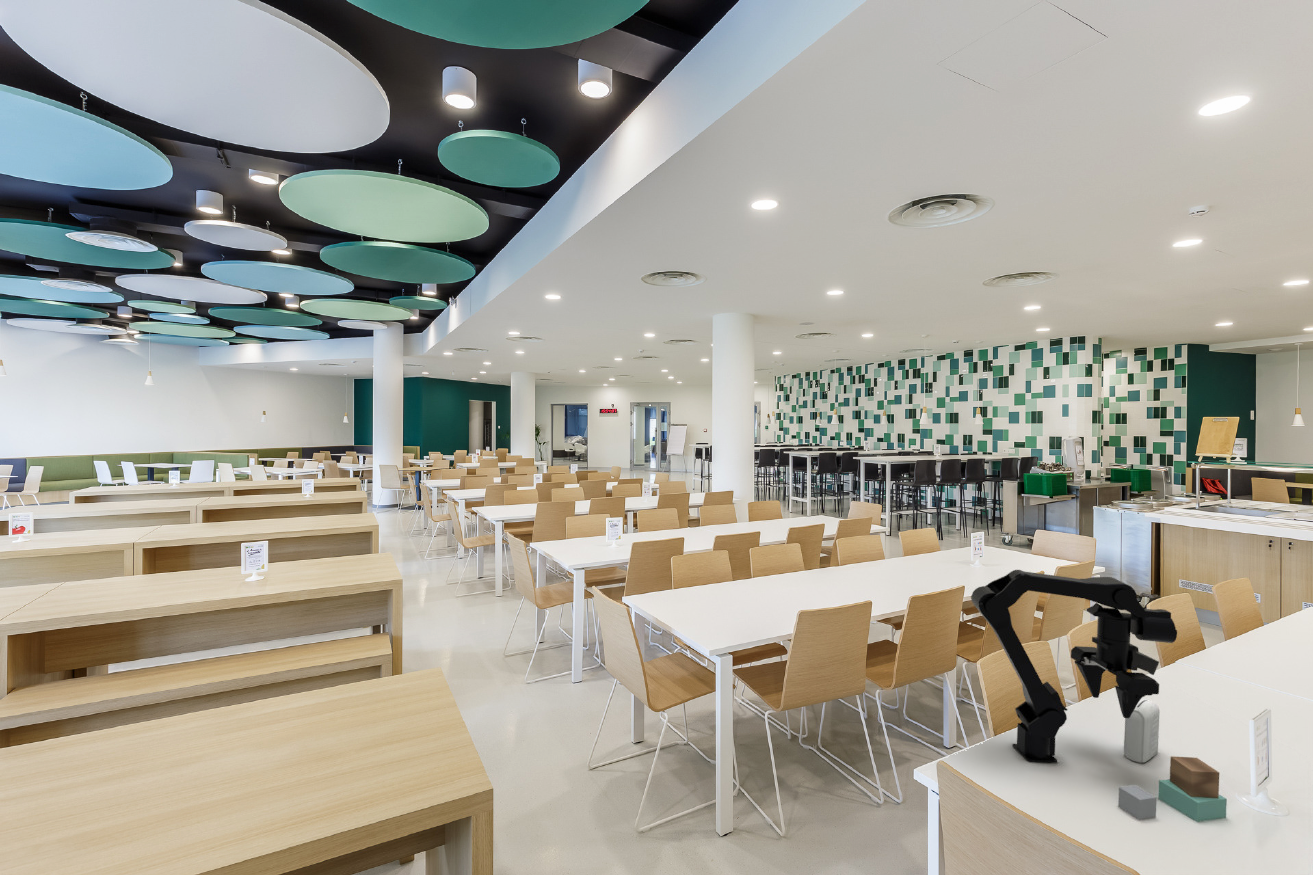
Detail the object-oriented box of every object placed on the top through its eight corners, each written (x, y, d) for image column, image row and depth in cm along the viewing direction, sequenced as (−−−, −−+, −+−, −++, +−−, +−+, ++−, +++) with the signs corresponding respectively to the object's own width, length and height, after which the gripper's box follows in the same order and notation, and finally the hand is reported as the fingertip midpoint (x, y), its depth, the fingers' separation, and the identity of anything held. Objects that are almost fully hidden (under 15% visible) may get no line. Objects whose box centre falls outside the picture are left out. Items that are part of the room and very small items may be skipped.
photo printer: (1137, 743, 138) (1139, 691, 137) (1160, 752, 134) (1162, 699, 134) (1120, 756, 132) (1122, 702, 132) (1144, 766, 128) (1146, 710, 128)
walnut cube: (1190, 796, 112) (1191, 770, 112) (1169, 780, 117) (1170, 756, 117) (1218, 798, 111) (1219, 772, 111) (1195, 782, 116) (1196, 757, 116)
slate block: (1139, 820, 110) (1140, 799, 110) (1118, 807, 114) (1119, 786, 114) (1155, 817, 111) (1156, 797, 111) (1134, 804, 115) (1135, 784, 115)
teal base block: (1196, 823, 110) (1197, 802, 110) (1158, 799, 117) (1159, 780, 117) (1225, 819, 112) (1226, 798, 111) (1186, 796, 118) (1186, 776, 118)
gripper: (1188, 655, 118) (1185, 731, 118) (1119, 623, 137) (1116, 689, 137) (1131, 652, 118) (1128, 728, 119) (1070, 621, 137) (1067, 687, 137)
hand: (1110, 707), depth 128 cm, fingers open, 9 cm apart
